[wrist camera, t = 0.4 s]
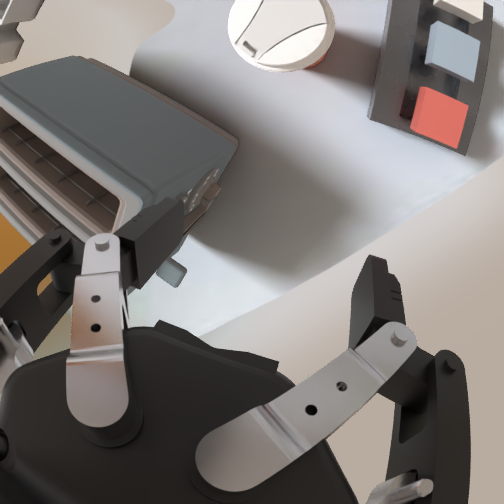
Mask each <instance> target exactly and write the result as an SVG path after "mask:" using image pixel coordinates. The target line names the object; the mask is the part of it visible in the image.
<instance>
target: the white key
mask: <svg viewBox="0 0 504 504" xmlns="http://www.w3.org/2000/svg"><path fill="white" fill-rule="evenodd" d="M483 2H484V0H434V2H433V5H434V6H436V7H438V8H441V9H443V10H445V11H447V12H450V13H452V14H454V15H456V16H458V17H460V18H462V19H464V20H466V21H468V22H470V23H472V24H474V23H476V22H479V21H482V19H483Z"/></svg>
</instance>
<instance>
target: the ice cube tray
mask: <svg viewBox="0 0 504 504" xmlns="http://www.w3.org/2000/svg"><path fill="white" fill-rule="evenodd" d="M44 1H45V0H0V64H3V63H7V62H12V61H14V60H15V59H16V58H17V56H18V54H19V52H20V49H21V47H22V44H23V42H24V40H23V38H22V37H21V35H20V34H19V33H18V32H17V30H16V29H17V27H18V25H19V23H20V22H23V21H31V20H33V19H34V18H35V17H36V15H37V14H38V11H39V10H40V8H41V6H42V4H43V3H44Z"/></svg>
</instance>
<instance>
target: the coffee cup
mask: <svg viewBox="0 0 504 504" xmlns="http://www.w3.org/2000/svg"><path fill="white" fill-rule="evenodd" d="M228 32H229V37H230V40H231V43H232V45H233V47H234V48H235V50H236V51H237V52H238V54H239V55H240V56H241V57H242V58H243V59H244V60H246V61H247V62H249V63H250V64H252V65H254V66H256V67H258V68H260V69H263V70H267V71H272V72H292V71H296V70H300V69H303V68H309V67H312V66H315V65H317V64H318V63H320V62H321V61H322V60H323V59H324V57H325V56H326V54H327V51H328V48H329V47H330V45H331V43H332V41H333V38H334V33H335V20H334V15H333V12H332V10H331V8H330V6H329V4H328V3H327V1H326V0H236V1H235V3H234V4H233V6H232V8H231V11H230V14H229V19H228Z"/></svg>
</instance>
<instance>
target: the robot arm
mask: <svg viewBox="0 0 504 504" xmlns="http://www.w3.org/2000/svg"><path fill="white" fill-rule="evenodd" d="M184 209H185V205H184V201H182V200H178V199H175V198H171V197H166V198H164V199H163V200H162V201H161V202H159V203H158V204H157V205H152V206H149V207H147V208H144V209H143V210H141V211H140V212H139V213H138V214H137V215H135V216H134V217H133V218H131V220H129V221H128V222H126V223H125V224H124V225H123V226H122V227H120V228H119V229H118V230H117V231H115V232H114V233H113V234H110V233H102V234H97V235H94V236H92V237H91V238H89V239H88V240H87V242H86V243H82V242H72V238H71V234H70V232H69V231H67V230H64V229H57V230H53V231H50V232H48V233H47V234H45V235H44V236H43V237H41V238H40V239H39V240H38V241H37V242H36V243H34V244H33V245H32V246H31V247H30V248H29V249H28V250H26V251H25V252H24V253H23V254H22V255H21V256H20V257H18V259H17V260H15V261H14V262H13V263H12V264H11V265H10V266H9V267H8V268H7V269H6V270H4V272H2V273H1V274H0V396H1V401H0V504H359V503H358V501H357V498H356V496H355V495H354V492H353V491H352V488H351V487H350V485H349V483H348V481H347V479H346V477H345V475H344V473H343V472H342V470H341V468H340V466H339V464H338V462H337V460H336V458H335V456H334V454H333V452H332V450H331V448H330V446H329V444H328V442H327V441H326V439H327V438H328V437H329V436H330V435H332V434H333V433H334V432H335V431H336V430H337V429H339V428H340V427H341V426H342V425H343V424H344V423H345V422H346V421H348V420H349V419H350V418H351V417H352V416H353V415H354V414H355V413H356V412H358V411H359V410H360V409H361V408H362V407H363V406H364V405H365V404H366V403H367V402H368V401H369V400H370V399H371V398H372V397H373V396H374V395H375V394H376V393H379V394H381V395H382V396H384V397H386V398H388V399H390V400H392V401H393V402H395V411H394V423H393V431H392V440H391V448H390V455H389V461H388V468H387V474H386V479H385V482H382V483H380V484H379V485H377V486H376V487H375V488H374V489H373V490H372V492H371V493H370V496H369V498H368V501H367V502H366V504H468V497H469V484H470V462H471V460H470V459H471V439H470V417H469V416H470V415H469V402H468V391H467V383H466V375H465V368H464V365H463V362H462V361H461V359H460V358H459V357H458V356H457V355H456V354H455V353H453V352H451V351H449V350H441V351H439V352H438V353H437V354H436V355H435V356H433V355H431V354H429V353H427V352H426V351H424V350H422V349H420V348H419V347H418V346H417V340H416V337H415V335H414V333H413V332H412V331H411V330H410V329H409V328H408V327H407V326H406V322H405V314H404V307H403V302H402V295H401V287H400V283H399V282H398V280H397V278H396V277H395V275H393V274H390V273H388V266H387V261H386V260H385V259H382V258H379V257H376V256H372V255H369V256H368V257H367V259H366V261H365V263H364V265H363V268H362V271H361V272H360V274H359V276H358V279H357V281H356V283H355V285H354V288H353V292H352V299H351V318H350V335H349V347H348V349H347V350H346V351H344V352H343V353H342V354H340V355H339V356H338V357H337V358H335V359H334V360H332V361H331V362H330V363H328V364H327V365H325V366H324V367H323V368H321V369H320V370H318V371H317V372H316V373H314V374H313V375H311V376H310V377H308V378H307V379H305V380H304V381H302V382H301V383H299V384H298V385H295V384H294V383H293V382H292V381H291V380H289V379H288V378H287V377H286V376H284V375H283V374H281V373H280V372H278V371H277V368H278V364H279V362H278V361H275V360H272V359H268V358H265V357H262V356H258V355H256V354H252V353H249V352H242V351H233V350H226V349H217V348H214V347H211V346H210V345H208V344H206V343H205V342H203V341H202V340H200V339H199V338H197V337H196V336H194V335H193V334H191V333H190V332H188V331H187V330H184V329H182V328H179V327H177V326H174V325H172V324H169V323H167V322H164V321H162V320H159V321H158V322H157V323H156V325H155V326H154V327H131V325H130V315H129V305H128V294H127V289H128V288H129V287H130V286H132V287H135V288H137V289H141V288H142V287H143V286H144V284H145V283H146V282H147V281H148V280H149V279H150V277H151V276H152V275H153V274H154V273H155V272H156V270H157V269H158V268H159V267H160V266H161V265H162V263H163V262H164V261H165V260H166V259H167V258H168V257H169V255H170V254H171V253H172V252H173V251H174V250H175V249H176V248H177V246H178V245H179V244H180V242H181V240H182V238H183V233H184ZM49 273H50V275H51V278H52V282H51V283H50V284H49V285H48V286H47V287H46V288H45V290H44V291H43V292H42V293H41V294H40V295H39V296H38V295H37V287H38V285H39V283H40V282H41V281H42V280H43V279H44V278H45V277H46V276H47V275H48V274H49ZM72 304H73V307H72V322H71V342H70V349H67V350H64V351H61V352H58V353H55V354H53V355H49V356H46V357H44V358H40V359H37V360H34V361H33V354H34V352H35V351H36V349H37V348H38V347H39V345H40V344H41V343H42V341H43V340H44V339H45V338H46V336H47V335H48V334H49V333H50V331H51V330H52V329H53V328H54V326H55V325H56V324H57V323H58V321H59V320H60V319H61V317H62V316H63V315H64V314H65V313H66V312H67V310H68V309H69V308H70V307H71V306H72Z"/></svg>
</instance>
